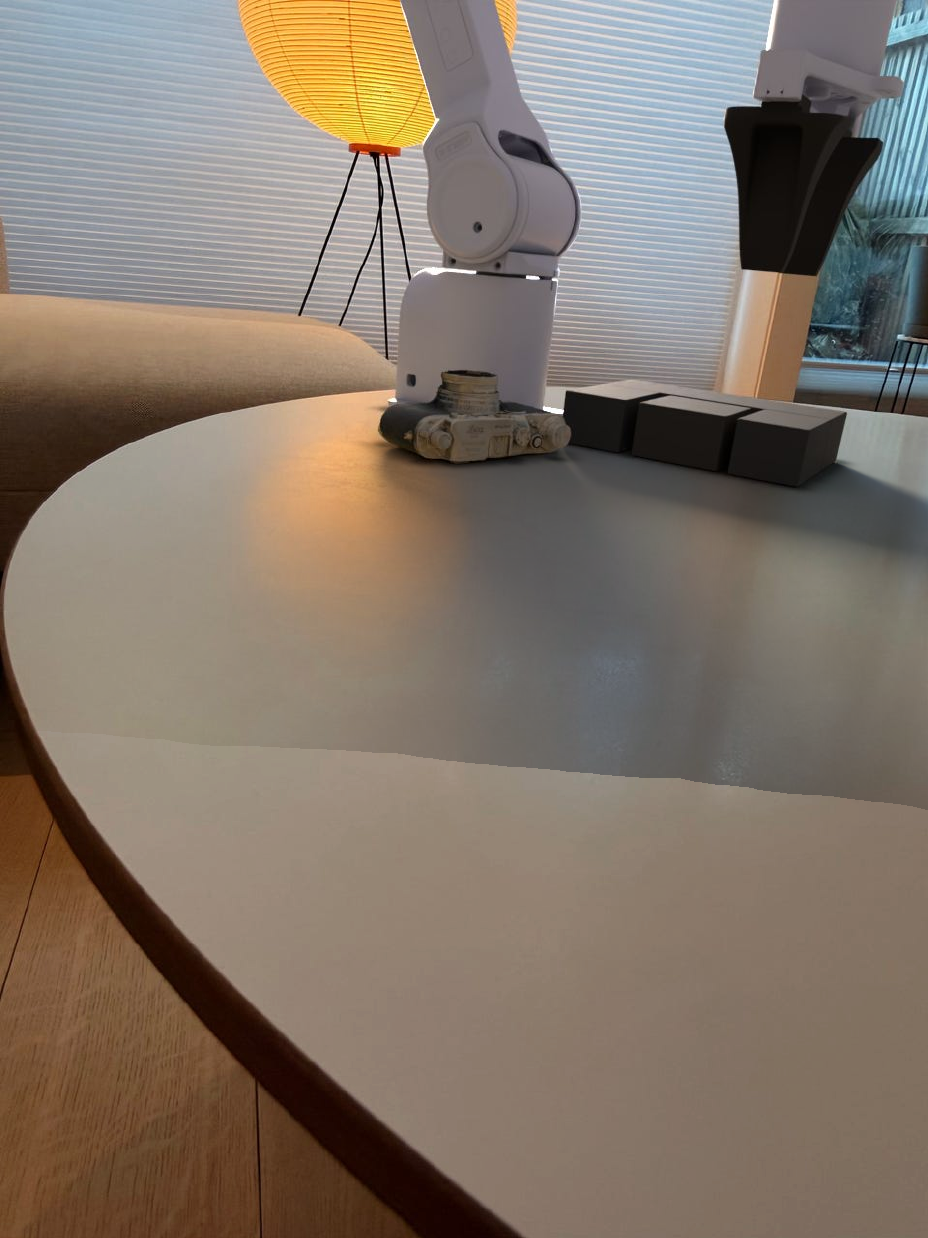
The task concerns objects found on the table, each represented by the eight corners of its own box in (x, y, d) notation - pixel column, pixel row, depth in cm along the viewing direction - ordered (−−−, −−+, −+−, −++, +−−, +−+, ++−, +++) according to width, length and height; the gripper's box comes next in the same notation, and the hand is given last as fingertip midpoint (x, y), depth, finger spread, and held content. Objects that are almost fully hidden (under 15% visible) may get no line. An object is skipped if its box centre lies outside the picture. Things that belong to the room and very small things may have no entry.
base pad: (559, 441, 55) (565, 390, 54) (624, 423, 64) (630, 378, 62) (797, 487, 49) (810, 430, 48) (836, 461, 57) (847, 411, 56)
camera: (579, 456, 52) (589, 379, 50) (420, 466, 46) (425, 380, 45) (524, 437, 56) (532, 364, 54) (371, 444, 50) (374, 364, 48)
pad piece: (630, 455, 53) (639, 402, 52) (661, 444, 57) (669, 395, 56) (715, 471, 51) (726, 416, 50) (741, 459, 55) (752, 407, 54)
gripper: (904, -79, 38) (828, 276, 43) (944, 11, 50) (880, 282, 55) (734, -65, 41) (682, 263, 46) (809, 16, 53) (761, 271, 58)
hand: (780, 273), depth 51 cm, fingers open, 7 cm apart
